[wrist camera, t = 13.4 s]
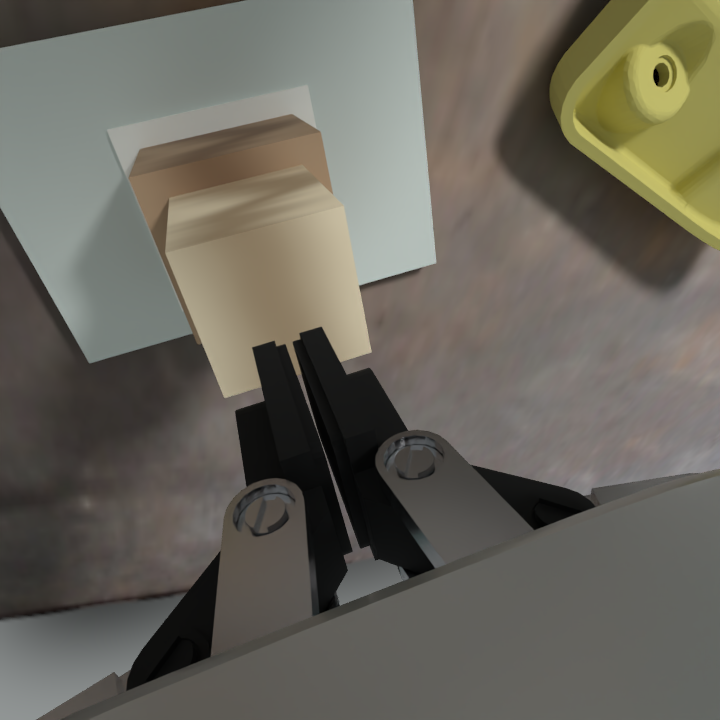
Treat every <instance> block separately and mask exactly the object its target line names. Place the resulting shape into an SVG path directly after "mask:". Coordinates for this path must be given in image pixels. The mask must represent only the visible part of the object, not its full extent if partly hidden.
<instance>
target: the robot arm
mask: <svg viewBox="0 0 720 720" xmlns="http://www.w3.org/2000/svg"><path fill="white" fill-rule="evenodd" d="M299 335H300V339H299V340H296V341H292V342H293V346H294V350H295V353H296V357H297V360H298V364H299V367H300V370H301V374H302V377H303V381H304V384H305V388H306V391H307V395H308V398H309V402H310V405H311V409H312V412H313V416H314V419H315V422H316V426H317V429H318V433H319V436H320V439H321V442H322V444H323V447H324V450H325V453H326V455H327V458H328V461H329V464H330V466H331V469H332V472H333V475H334V477H335V480H336V483H337V486H338V488H339V491H340V494H341V497H342V500H343V502H344V505H345V508H346V511H347V513H348V516H349V519H350V522H351V524H352V527H353V530H354V533H355V535H356V538H357V541H358V544H359V546H360V548H364V547H367V546H369V545H370V548H371V550H372V553H373V556H374V558H375V560H378V559H380V560H383V561H386V562H389V563H391V564H394V565H397V567H398V570H399V573H400V575H401V578H402V579H403V581H402V582H400V583H397V584H395V585H392V586H389V587H387V588H384V589H382V590H379V591H377V592H374V593H372V594H369V595H367V596H364V597H361V598H359V599H356V600H354V601H351V602H349V603H346V604H343V605H341V606H340V605H339V600H338V596H337V593H336V590H337V589H338V587H339V585H340V583H341V582H342V580H343V578H344V576H345V574H346V573H347V571H348V570H347V566H346V563H345V560H344V556H343V555H345V554H348V553H351V552H353V551H352V547H351V544H350V540H349V537H348V534H347V530H346V527H345V523H344V520H343V516H342V513H341V509H340V506H339V502H338V499H337V495H336V492H335V488H334V485H333V482H332V478H331V475H330V471H329V468H328V464H327V461H326V457H325V454H324V451H323V448H322V445H321V442H320V439H319V436H318V433H317V430H316V428H315V425H314V422H313V419H312V416H311V414H310V411H309V408H308V405H307V403H306V400H305V397H304V394H303V391H302V389H301V386H300V383H299V380H298V378H297V375H296V372H295V369H294V366H293V364H292V361H291V358H290V355H289V353H288V350H287V347H286V344H283V345H279V346H276V343H275V341H271V342H268V343H265V344H261V345H258V346H255V347H252V350H253V354H254V358H255V362H256V366H257V370H258V374H259V379H260V383H261V387H262V391H263V395H264V399H265V401H263V402H260V403H257V404H254V405H251V406H248V407H244V408H241V409H238V410H236V411H235V413H236V421H237V427H238V434H239V440H240V447H241V453H242V460H243V466H244V473H245V479H246V486H247V487H246V488H245V489H243V490H241V491H240V492H239V493H238V494H237V495H236V496H235V497H234V498H233V499H232V501H231V502H230V504H229V506H228V507H227V509H226V513H225V516H224V522H223V533H222V543H221V551H220V552H219V553H218V555H217V556H216V557H215V558H214V560H213V561H212V562H211V563H210V565H209V566H208V567H207V568H206V570H205V571H204V572H203V574H202V575H201V576H200V577H199V579H198V580H197V581H196V582H195V584H194V585H193V586H192V587H191V589H190V590H189V591H188V592H187V594H186V595H185V596H184V597H183V599H182V600H181V601H180V602H179V604H178V605H177V607H176V608H175V609H174V610H173V611H172V613H171V614H170V615H169V616H168V618H167V619H166V620H165V621H164V623H163V624H162V625H161V627H160V628H159V629H158V630H157V631H156V633H155V634H154V635H153V636H152V638H151V639H150V640H149V642H148V643H147V644H146V646H145V647H144V648H143V649H142V651H141V652H140V654H139V655H138V657H137V658H136V660H135V662H134V664H133V665H132V668H131V670H130V671H128V672H126V673H125V674H123V675H122V676H120V677H118V676H117V675H116V674H115V672H113V673H112V674H110V675H109V676H107V677H105V678H104V679H102V680H100V681H99V682H97V683H96V684H94V685H92V686H91V687H89V688H87V689H86V690H84V691H82V692H81V693H79V694H78V695H76V696H75V697H73V698H71V699H69V700H68V701H66V702H64V703H63V704H61V705H60V706H58V707H56V708H55V709H53V710H51V711H50V712H48V713H47V714H45V715H43V716H42V717H40V718H38V719H37V720H720V469H717V470H712V471H708V472H704V473H688V474H682V475H676V476H669V477H663V478H656V479H650V480H643V481H637V482H631V483H624V484H618V485H611V486H605V487H598V488H592V490H591V495H586V496H583V495H581V494H580V493H578V492H575V491H572V490H570V489H567V488H563V487H559V486H555V485H551V484H547V483H543V482H539V481H535V480H531V479H526V478H522V477H518V476H514V475H510V474H506V473H502V472H498V471H494V470H490V469H486V468H481V467H477V466H473V465H470V464H469V463H468V462H467V461H466V460H465V459H464V458H463V457H462V456H461V455H460V454H459V453H458V452H457V451H456V450H455V449H454V448H453V447H452V446H451V445H450V444H449V443H448V442H447V441H446V440H445V439H444V438H442V437H441V436H440V435H438V434H435V433H432V432H430V431H423V430H411V431H408V430H407V428H406V426H405V425H404V423H403V421H402V420H401V418H400V416H399V415H398V413H397V411H396V410H395V408H394V406H393V405H392V403H391V401H390V400H389V398H388V396H387V395H386V393H385V391H384V390H383V388H382V386H381V385H380V383H379V381H378V380H377V378H376V376H375V375H374V373H373V371H372V370H371V369H370V368H367V369H364V370H361V371H357V372H354V373H351V374H348V375H346V373H345V371H344V369H343V367H342V365H341V363H340V361H339V359H338V357H337V355H336V353H335V351H334V349H333V347H332V345H331V344H330V342H329V340H328V338H327V336H326V334H325V332H324V330H323V328H322V327H318V328H314V329H311V330H308V331H305V332H301V333H299Z"/></svg>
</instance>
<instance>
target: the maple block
mask: <svg viewBox="0 0 720 720" xmlns="http://www.w3.org/2000/svg"><path fill="white" fill-rule="evenodd" d="M165 254H166V257H167V259H168V261H169V264H170V266H171V269H172V271H173V274H174V276H175V278H176V281H177V283H178V286H179V288H180V291H181V293H182V296H183V298H184V300H185V303H186V305H187V308H188V310H189V313H190V315H191V318H192V320H193V322H194V325H195V327H196V330H197V332H198V335H199V337H200V339H201V342H202V344H203V347H204V349H205V352H206V354H207V357H208V359H209V361H210V364H211V366H212V369H213V371H214V374H215V376H216V378H217V381H218V383H219V386H220V388H221V391H222V393H223V396H224V398H227V397H230V396H233V395H237V394H240V393H243V392H246V391H249V390H253V389H256V388H259V387H261V383H260V379H259V374H258V370H257V366H256V362H255V358H254V354H253V350H252V347H255V346H258V345H261V344H265V343H268V342H271V341H275V343H276V346H279V345H283V344H286V347H287V350H288V353H289V355H290V358H291V361H292V364H293V366H294V369H295V372H296V375H300V374H301V370H300V367H299V364H298V360H297V357H296V353H295V350H294V346H293V342H292V341H296V340H299V339H300V335H299V333H301V332H305V331H308V330H311V329H314V328H318V327H322V328H323V330H324V332H325V334H326V336H327V338H328V340H329V342H330V344H331V345H332V347H333V349H334V351H335V353H336V355H337V357H338V359H339V361H340V362H342V361H345V360H348V359H352V358H355V357H358V356H361V355H364V354H368V353H371V347H370V342H369V336H368V331H367V326H366V320H365V315H364V310H363V305H362V299H361V294H360V289H359V283H358V278H357V273H356V267H355V262H354V257H353V251H352V246H351V241H350V235H349V230H348V225H347V220H346V214H345V209H344V205H343V204H342V203H341V202H340V201H339V200H338V199H337V198H336V197H335V196H334V195H333V194H332V193H331V192H330V191H329V190H327V189H326V188H325V187H324V186H323V185H322V184H321V183H320V182H319V181H318V180H317V179H316V178H315V177H314V176H313V175H312V174H311V173H310V172H309V171H308V170H307V169H306V168H305V167H304V166H303V165H299V166H295V167H291V168H287V169H283V170H279V171H275V172H271V173H267V174H263V175H259V176H255V177H251V178H247V179H243V180H239V181H235V182H231V183H227V184H223V185H219V186H215V187H211V188H207V189H203V190H199V191H195V192H191V193H187V194H183V195H179V196H175V197H171V198H169V208H168V222H167V235H166V248H165Z"/></svg>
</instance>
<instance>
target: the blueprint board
mask: <svg viewBox="0 0 720 720" xmlns="http://www.w3.org/2000/svg"><path fill="white" fill-rule="evenodd" d="M289 114H293V115H295V116H296V117H298V118H300V119H301V120H303V121H304V122H306V123H308V124H309V125H311V126H312V127H314V128H316V129H317V130H319V131H320V132H321V135H322V140H323V145H324V150H325V155H326V161H327V166H328V171H329V176H330V181H331V186H332V191H333V195H334V196H335V197H336V198H337V199H338V200H339V201H340V202H341V203H342V204H343V205H344V209H345V214H346V220H347V225H348V230H349V235H350V241H351V246H352V251H353V257H354V262H355V267H356V273H357V278H358V283H359V285H362V284H366V283H369V282H373V281H376V280H380V279H383V278H386V277H390V276H393V275H397V274H400V273H404V272H407V271H411V270H414V269H418V268H421V267H424V266H428V265H431V264H435V263H436V255H435V244H434V233H433V222H432V210H431V199H430V188H429V177H428V166H427V154H426V143H425V132H424V121H423V110H422V98H421V87H420V76H419V65H418V54H417V42H416V31H415V20H414V9H413V0H245V1H240V2H235V3H230V4H225V5H220V6H214V7H209V8H204V9H199V10H194V11H189V12H184V13H178V14H173V15H168V16H163V17H158V18H153V19H147V20H142V21H137V22H132V23H127V24H122V25H117V26H111V27H106V28H101V29H96V30H91V31H86V32H81V33H75V34H70V35H65V36H60V37H55V38H50V39H45V40H39V41H34V42H29V43H24V44H19V45H14V46H9V47H3V48H0V208H1V210H2V211H3V213H4V215H5V217H6V218H7V220H8V222H9V224H10V225H11V227H12V229H13V231H14V232H15V234H16V236H17V238H18V239H19V241H20V243H21V245H22V246H23V248H24V250H25V252H26V253H27V255H28V257H29V259H30V260H31V262H32V264H33V266H34V267H35V269H36V271H37V273H38V274H39V276H40V278H41V280H42V281H43V283H44V285H45V287H46V288H47V290H48V292H49V294H50V295H51V297H52V299H53V301H54V302H55V304H56V306H57V308H58V309H59V311H60V313H61V315H62V316H63V318H64V320H65V322H66V323H67V325H68V327H69V329H70V330H71V332H72V334H73V336H74V337H75V339H76V341H77V343H78V344H79V346H80V348H81V350H82V351H83V353H84V355H85V357H86V358H87V360H88V362H89V363H93V362H96V361H100V360H103V359H106V358H110V357H113V356H117V355H120V354H124V353H127V352H131V351H134V350H138V349H141V348H144V347H148V346H151V345H155V344H158V343H162V342H165V341H169V340H172V339H176V338H179V337H183V336H186V335H189V334H193V333H192V330H191V328H190V325H189V323H188V321H187V318H186V316H185V313H184V311H183V308H182V306H181V304H180V301H179V299H178V296H177V294H176V292H175V289H174V287H173V284H172V282H171V280H170V277H169V275H168V272H167V270H166V267H165V265H164V263H163V260H162V258H161V255H160V253H159V251H158V248H157V246H156V243H155V241H154V238H153V236H152V234H151V231H150V229H149V226H148V224H147V222H146V219H145V217H144V214H143V212H142V210H141V207H140V205H139V202H138V200H137V197H136V195H135V193H134V190H133V188H132V185H131V183H130V181H129V178H128V177H129V175H130V172H131V170H132V167H133V165H134V162H135V160H136V157H137V155H138V152H139V150H140V149H142V148H146V147H151V146H155V145H159V144H164V143H168V142H172V141H177V140H181V139H185V138H190V137H194V136H198V135H203V134H207V133H211V132H216V131H220V130H224V129H228V128H233V127H237V126H241V125H246V124H250V123H254V122H259V121H263V120H267V119H272V118H276V117H280V116H285V115H289Z"/></svg>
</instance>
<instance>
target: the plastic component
mask: <svg viewBox="0 0 720 720" xmlns="http://www.w3.org/2000/svg"><path fill="white" fill-rule="evenodd" d="M655 68H656V69H657V71H658V73H659V83H658V85H657V86H656V84H655V82H654V79H653V71H654V69H655ZM549 97H550V104H551V107H552V109H553V111H554V114H555V116H556V118H557V120H558V122H559V125H560V127H561V129H562V131H563V134H564V136H565V137H566V138H567V140H568V141H569V143H570V144H572V145H573V146H574V147H576V148H577V149H578V150H580V151H581V152H582V153H584V154H585V155H586V156H588V157H589V158H590V159H592V160H593V161H594V162H596V163H597V164H598V165H600V166H601V167H602V168H604V169H605V170H606V171H608V172H609V173H610V174H612V175H613V176H615V177H616V178H617V179H619V180H620V181H621V182H623V183H624V184H625V185H627V186H628V187H629V188H631V189H632V190H633V191H635V192H636V193H637V194H639V195H640V196H641V197H643V198H644V199H645V200H647V201H648V202H649V203H651V204H652V205H653V206H655V207H656V208H657V209H659V210H660V211H661V212H663V213H664V214H665V215H667V216H668V217H669V218H671V219H672V220H674V221H675V222H676V223H678V224H679V225H680V226H682V227H683V228H684V229H686V230H687V231H688V232H690V233H691V234H693V235H694V236H696V237H697V238H699V239H700V240H701V241H703V242H704V243H706V244H708V245H710V246H711V247H713V248H715V249H717V250H720V0H611V1H610V2H609V3H608V4H607V5H606V6H605V7H604V9H603V10H602V11H601V12H600V13H599V14H598V16H597V17H596V18H595V19H594V20H593V21H592V22H591V24H590V25H589V26H588V27H587V28H586V29H585V31H584V32H583V33H582V34H581V35H580V36H579V38H578V39H577V40H576V41H575V42H574V43H573V44H572V46H571V47H570V48H569V49H568V50H567V51H566V53H565V54H564V55H563V57H562V58H561V60H560V61H559V63H558V64H557V66H556V69H555V71H554V73H553V75H552V78H551V83H550V90H549Z"/></svg>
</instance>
